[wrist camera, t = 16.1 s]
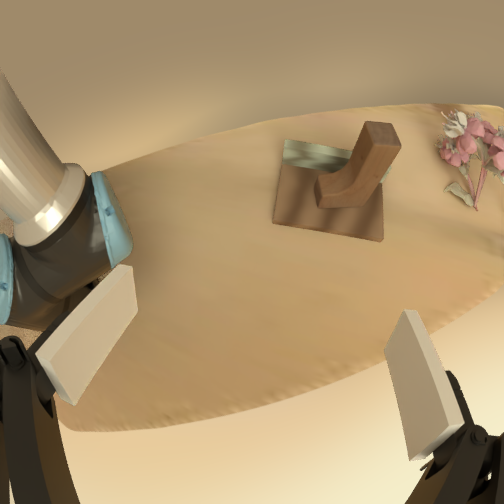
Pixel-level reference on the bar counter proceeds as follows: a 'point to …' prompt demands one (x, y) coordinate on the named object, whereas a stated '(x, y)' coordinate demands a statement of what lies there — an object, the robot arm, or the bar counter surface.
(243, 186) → the bar counter surface
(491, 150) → the flower
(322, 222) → the walnut edge board
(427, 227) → the bar counter surface
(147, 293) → the bar counter surface
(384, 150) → the wooden block
